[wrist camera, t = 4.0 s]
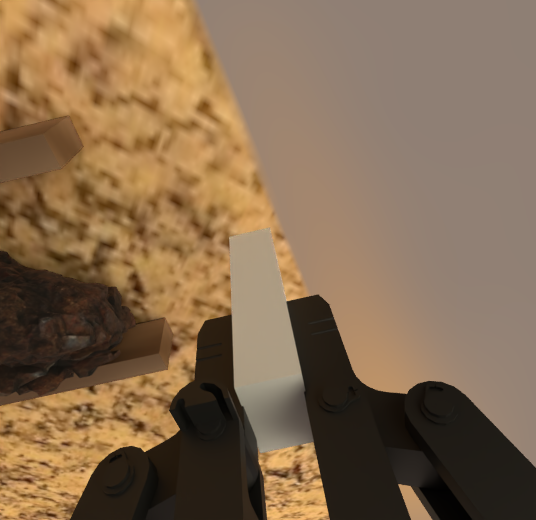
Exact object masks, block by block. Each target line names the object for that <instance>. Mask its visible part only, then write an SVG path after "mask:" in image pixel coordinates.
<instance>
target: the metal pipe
mask: <svg viewBox="0 0 536 520" xmlns="http://www.w3.org/2000/svg"><path fill="white" fill-rule="evenodd" d="M121 297H122V296H121V295H120V293H119V291H118V289H117V288H116V287H107V286H105V285H103V284H98V283H84V282H80V281H78V280H76V279H73V278H66V277H63V276H62V275H60V274H56V273H53V272H49V271H47V270H34V269H31V268H27V267H24V266H22V265H20V264H19V263H18V262H16V261H15V260H14V259H12V258H10V257H9V255H8V253H7V252H4V251H0V396H9V395H11V394H12V393H14V392H17V393H18V394H19V395H22V394H25V393H28V392H31V391H33V392H36V393H37V394H38V395H39V396H42V395H44V394H47V393H49V392H52V391H56V390H57V388H58V387H59V385H60V383H61V382H62V381H64V380H65V379H66V378H71V377H74V373H75V374H76V375H77V376H78V377H79V378H83V377H88V376H91V375H92V374H93V373H94V372H95V371H96V369H97V368H98V366H101V365H103V364H105V363H107V362H109V361H111V360H113V359H115V358H117V357H118V356H119V355H120V354H121V353H120V350H116V351H110V350H111V349H113V348H114V347H116V346H117V345H118V344H119V343H120V342H121V341H122V339H123V336H122V334H123V333H126V332H127V331H128V330H129V329H131V328H133V327H135V326H136V322H135V318H134V316H133V314H132V313H131V312H130V309H129V308H128V307H127V306H121Z"/></svg>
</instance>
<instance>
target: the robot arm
mask: <svg viewBox="0 0 536 520" xmlns="http://www.w3.org/2000/svg"><path fill="white" fill-rule="evenodd" d="M229 241H230V272H231V304H232V315H228V316H224V317H219V318H215V319H210V320H206V321H205V322H204V324H203V326H202V328H201V329H200V331H199V333H198V339H197V353H196V366H195V380H194V381H193V382H191V383H189V384H188V385H186V386H185V387H184V388H182V389H181V390H180V391H179V392H178V393H177V395H176V396H175V397H174V399H173V400H172V403H171V406H170V409H169V411H170V413H171V414H172V416H173V418H174V419H175V421H176V423H177V425H178V426H179V428H180V430H179V431H178V432H177V433H176V434H175V435H174V436H172V437H171V438H169V439H168V440H166V441H165V442H163V443H161V444H159V445H157V446H155V447H153V448H152V449H150V450H148V451H146V452H144V451H143V450H142V449H141V448H137V447H134V446H129V447H123V448H120V449H118V450H116V451H114V452H112V453H110V454H109V455H108V456H107V457H106V458H105V459H104V460H102V461H101V462H100V463H99V465H98V466H97V468H96V469H95V471H94V472H93V474H92V475H91V477H90V479H89V481H88V484H87V486H86V488H85V490H84V492H83V494H82V496H81V498H80V500H79V502H78V504H77V506H76V508H75V510H74V512H73V515H72V517H71V519H70V520H267V514H266V503H265V492H264V480H263V475H262V471H261V468H260V465H259V462H258V449H257V446H258V448H259V451H260V453H263V452H268V451H273V450H277V449H282V448H287V447H292V446H296V445H301V444H306V443H311V442H314V445H315V450H316V455H317V460H318V464H319V469H320V474H321V479H322V484H323V489H324V493H325V498H326V503H327V508H328V513H329V517H330V520H411V518H410V516H409V513H408V510H407V507H406V505H405V502H404V499H403V496H402V494H401V491H400V488H399V486H398V484H402V485H408V486H411V487H412V489H413V490H414V492H415V493H416V495H417V496H418V498H419V500H420V501H421V503H422V504H423V506H424V507H425V509H426V510H427V512H428V513H429V515H430V516H431V518H432V519H433V520H536V468H535V467H534V466H533V465H532V463H531V462H530V461H529V460H528V459H527V458H526V457H525V456H524V455H523V454H522V453H521V452H520V451H519V450H518V449H517V448H516V447H515V446H514V445H513V444H512V443H511V442H510V441H509V440H508V439H507V438H506V437H505V436H504V435H503V433H502V432H501V431H500V430H499V429H498V428H497V427H496V426H495V425H494V424H493V423H492V422H491V421H490V420H489V419H488V418H487V417H486V416H485V415H484V414H483V413H482V412H481V411H480V410H479V409H478V408H477V407H476V406H475V405H474V403H473V402H471V400H470V399H469V398H468V397H467V396H466V395H465V394H463V393H462V392H461V391H459V390H458V389H457V388H455V387H454V386H451V385H448V384H446V383H443V382H436V381H427V382H423V383H419V384H417V385H415V386H414V387H413V388H411V389H410V390H409V391H408V393H407V394H400V393H389V392H383V391H378V390H375V389H373V388H370V387H368V386H366V385H365V384H363V383H362V382H361V381H360V380H359V379H358V378H357V377H356V375H355V373H354V372H353V370H352V367H351V364H350V361H349V359H348V356H347V353H346V350H345V348H344V345H343V342H342V339H341V336H340V333H339V331H338V329H337V325H336V322H335V320H334V317H333V314H332V311H331V308H330V306H329V304H328V303H327V302H326V301H325V300H324V299H323V298H322V297H320V296H319V295H314V296H309V297H305V298H300V299H296V300H291V301H286V296H285V292H284V287H283V283H282V278H281V274H280V270H279V265H278V261H277V256H276V252H275V248H274V243H273V239H272V235H271V230H270V228H266V229H261V230H257V231H253V232H248V233H244V234H239V235H235V236H231V237H229Z"/></svg>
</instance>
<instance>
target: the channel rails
mask: <svg viewBox="0 0 536 520" xmlns="http://www.w3.org/2000/svg"><path fill="white" fill-rule="evenodd" d="M83 147H84V146H83V144H82V142H81V140H80V138H79V136H78V134H77V132H76V130H75V128H74V126H73V123H72V121H71V119H70V117H69V116H65V117H61V118H57V119H53V120H48V121H44V122H40V123H36V124H31V125H27V126H23V127H19V128H14V129H10V130H6V131H2V132H0V183H3V182H7V181H11V180H15V179H20V178H24V177H28V176H33V175H37V174H41V173H46V172H50V171H54V170H59V169H62V168H63V167H64V166H65V165H66V164H67V163H68V162H69V161H70V160H71V159H72V158H73V157H74V156H75V155H76V154H77V153H78V152H79V151H80V150H81V149H82V148H83ZM122 336H123V339H122V341H121V342H120V343H119V344H118V345H117V346H116V347H114V348H113V349H111V350H110V351H116V350H120V353H121V354H120V355H119V356H118V357H117V358H115V359H113V360H111V361H109V362H107V363H105V364H103V365H101V366H98V368H97V369H96V371H95V372H94V373H93V374H92V375H91V376H88V377H83V378H79V377H78V376H77V375H76V374H75V373H74V377H71V378H66V379H65V380H64V381H62V382H61V383H60V385H59V387H58V388H57V390H56V391H52V392H49V393H47V394H44V395H42V396H39V395H38V394H37V393H36V392H33V391H31V392H28V393H25V394H22V395H19V394H18V393H17V392H14V393H12V394H11V395H9V396H0V406H1V405H5V404H10V403H15V402H19V401H24V400H29V399H33V398H38V397H43V396H47V395H52V394H57V393H61V392H66V391H70V390H75V389H80V388H84V387H89V386H94V385H98V384H103V383H108V382H112V381H117V380H122V379H126V378H131V377H135V376H140V375H145V374H149V373H154V372H159V371H163V370H168V363H169V357H170V350H171V344H172V337H173V333H172V331H171V329H170V327H169V324H168V322H167V320H166V318H163V319H159V320H154V321H150V322H145V323H141V324H136V326H135V327H133V328H131V329H129V330H128V331H127V332H126V333H123V334H122Z"/></svg>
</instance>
